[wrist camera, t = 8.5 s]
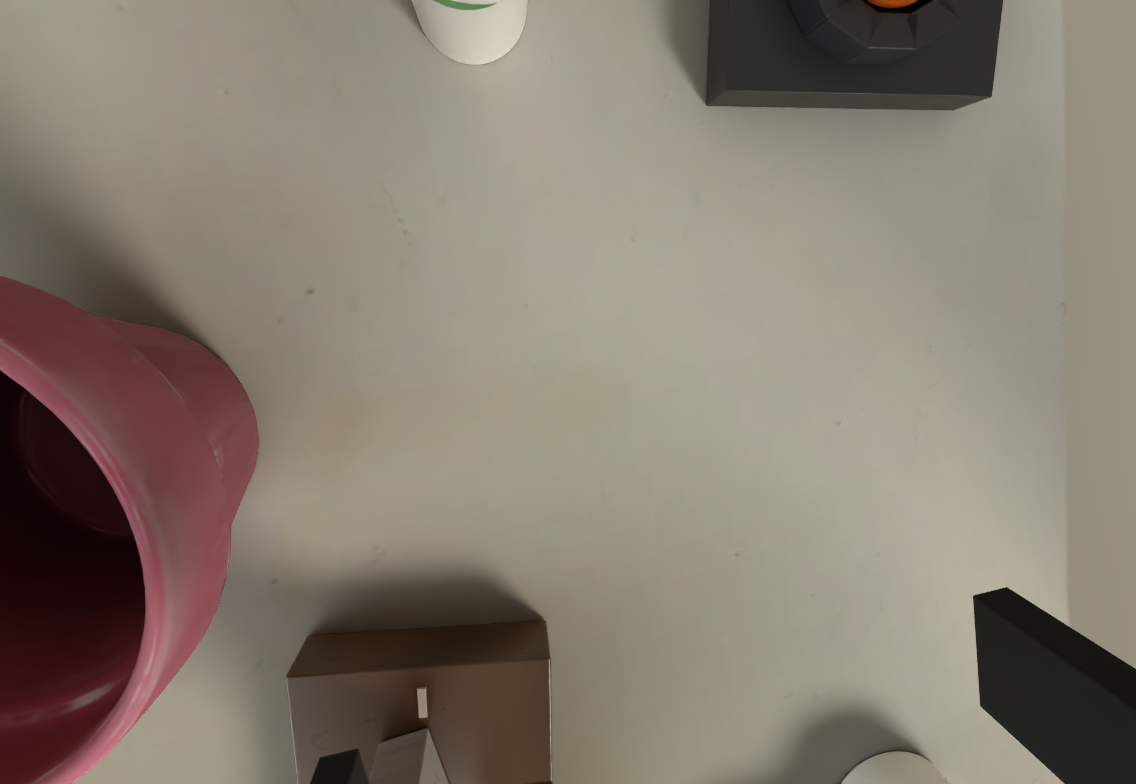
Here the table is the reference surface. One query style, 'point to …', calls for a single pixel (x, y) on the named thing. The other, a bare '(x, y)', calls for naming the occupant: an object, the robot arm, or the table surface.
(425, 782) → the red-tipped white block
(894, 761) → the white brass knuckles
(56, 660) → the flower pot
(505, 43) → the tube
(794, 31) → the button box
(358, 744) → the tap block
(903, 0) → the button
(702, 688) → the table surface
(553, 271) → the table surface
